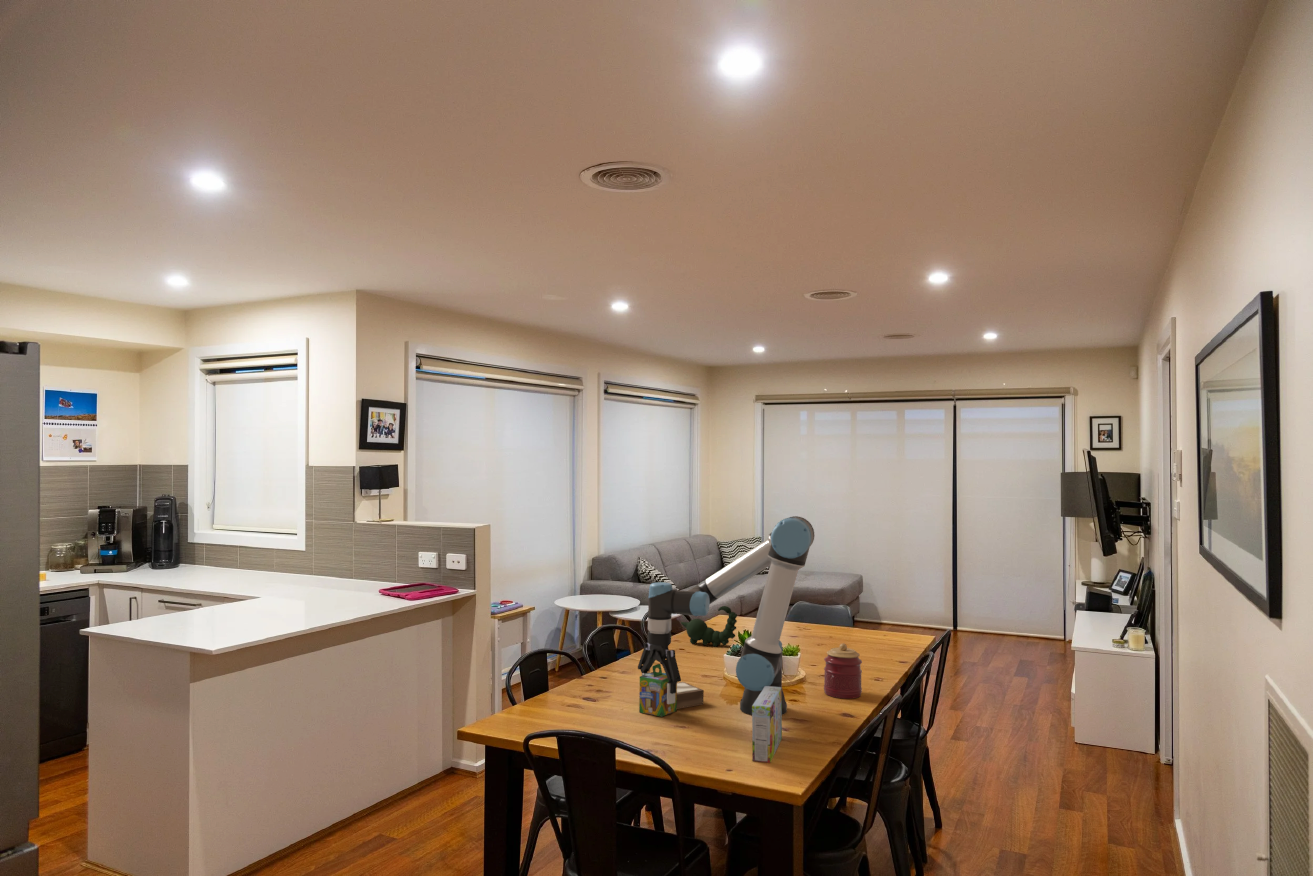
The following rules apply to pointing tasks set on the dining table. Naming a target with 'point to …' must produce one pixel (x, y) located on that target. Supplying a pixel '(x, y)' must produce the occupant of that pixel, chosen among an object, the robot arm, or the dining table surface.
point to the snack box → (766, 724)
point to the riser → (688, 695)
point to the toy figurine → (711, 630)
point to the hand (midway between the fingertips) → (658, 698)
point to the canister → (843, 673)
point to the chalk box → (655, 694)
